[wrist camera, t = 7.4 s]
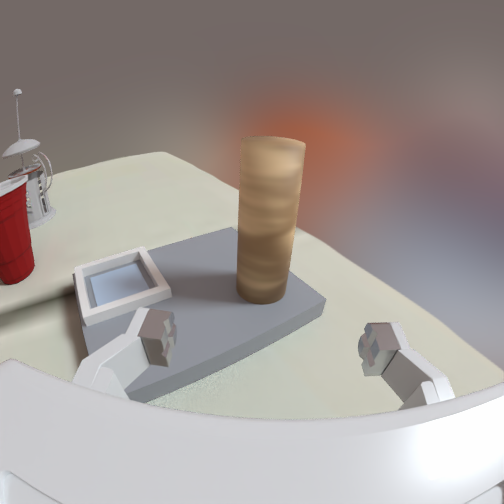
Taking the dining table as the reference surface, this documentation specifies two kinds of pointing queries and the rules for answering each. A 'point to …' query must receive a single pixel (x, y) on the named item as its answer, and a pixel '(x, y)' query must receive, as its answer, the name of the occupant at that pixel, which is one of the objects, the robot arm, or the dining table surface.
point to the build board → (186, 307)
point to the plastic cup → (14, 232)
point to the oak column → (267, 215)
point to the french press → (32, 179)
